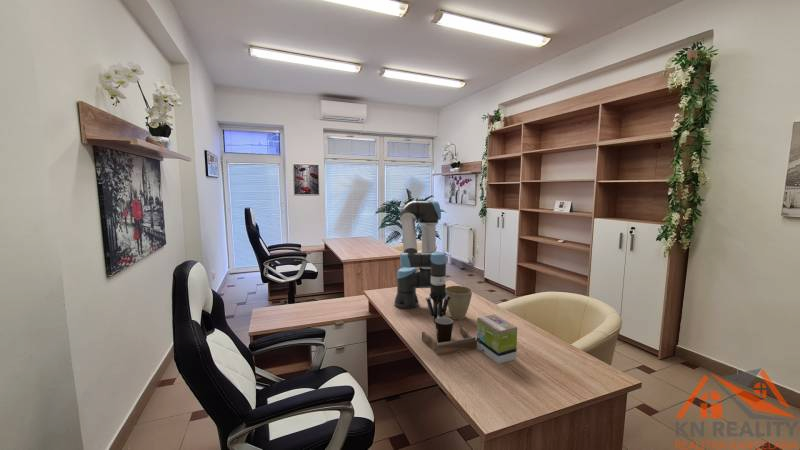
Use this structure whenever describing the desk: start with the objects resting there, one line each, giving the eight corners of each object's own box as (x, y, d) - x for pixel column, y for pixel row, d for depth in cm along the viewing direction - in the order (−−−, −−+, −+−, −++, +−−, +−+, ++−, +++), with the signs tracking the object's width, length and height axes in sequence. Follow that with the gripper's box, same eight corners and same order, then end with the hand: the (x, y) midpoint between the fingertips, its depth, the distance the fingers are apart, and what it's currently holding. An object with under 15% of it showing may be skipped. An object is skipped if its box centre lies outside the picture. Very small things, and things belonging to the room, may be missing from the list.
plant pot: (452, 324, 169) (453, 295, 167) (440, 313, 183) (440, 287, 181) (476, 320, 174) (477, 292, 172) (462, 310, 188) (463, 284, 186)
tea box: (475, 348, 144) (476, 316, 142) (493, 344, 148) (494, 313, 146) (498, 365, 130) (499, 330, 128) (517, 359, 134) (518, 326, 132)
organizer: (421, 340, 151) (421, 330, 151) (462, 333, 158) (462, 324, 158) (435, 356, 137) (435, 345, 136) (479, 348, 144) (479, 338, 143)
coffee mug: (452, 346, 145) (452, 325, 144) (433, 343, 148) (433, 323, 147) (454, 335, 157) (454, 315, 155) (437, 332, 159) (437, 313, 158)
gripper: (429, 287, 152) (428, 334, 154) (453, 284, 156) (452, 330, 158) (423, 282, 159) (422, 327, 161) (446, 280, 163) (445, 324, 165)
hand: (437, 329), depth 160 cm, fingers closed
